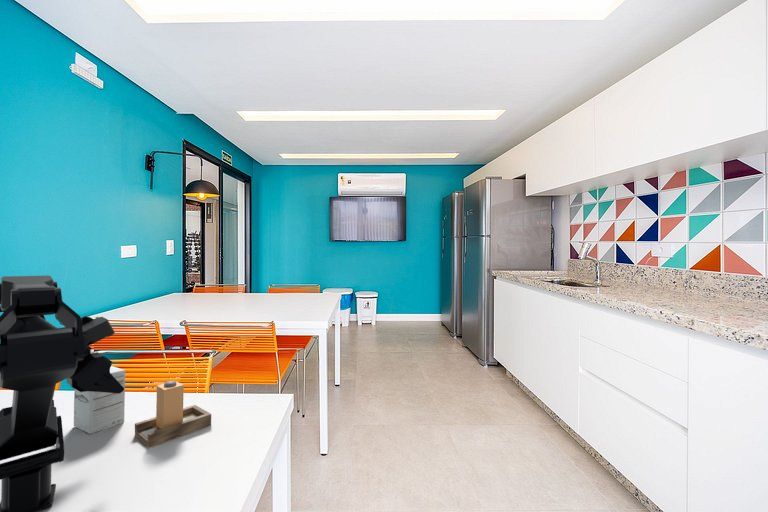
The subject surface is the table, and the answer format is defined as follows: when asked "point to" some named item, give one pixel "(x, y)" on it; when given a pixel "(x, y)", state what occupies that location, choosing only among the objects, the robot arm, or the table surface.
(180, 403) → the block
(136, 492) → the table surface
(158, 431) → the box
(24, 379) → the robot arm
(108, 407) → the supplement box
